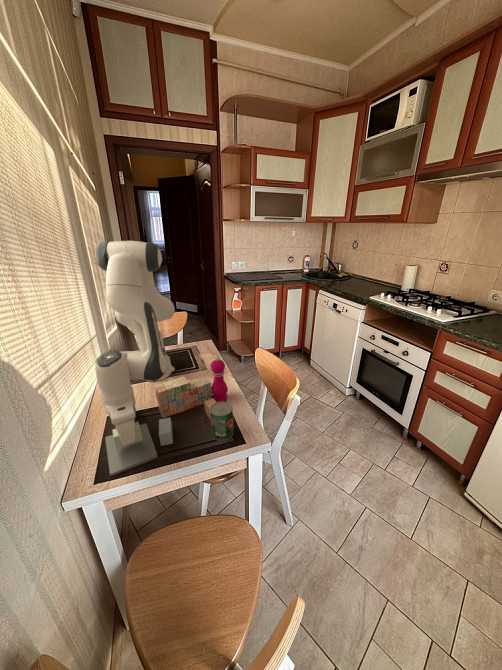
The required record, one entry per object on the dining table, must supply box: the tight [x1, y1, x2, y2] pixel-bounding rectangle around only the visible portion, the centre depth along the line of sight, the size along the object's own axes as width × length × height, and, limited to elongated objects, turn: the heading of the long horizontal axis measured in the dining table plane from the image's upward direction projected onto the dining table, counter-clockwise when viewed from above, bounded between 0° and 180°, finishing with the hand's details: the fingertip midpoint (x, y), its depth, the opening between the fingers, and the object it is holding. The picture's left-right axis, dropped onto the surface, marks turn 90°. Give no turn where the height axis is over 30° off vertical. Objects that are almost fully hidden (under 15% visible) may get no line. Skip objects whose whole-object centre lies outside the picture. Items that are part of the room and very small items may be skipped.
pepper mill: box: [210, 356, 229, 402], centre depth 115 cm, size 7×7×20 cm
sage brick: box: [112, 421, 143, 449], centre depth 90 cm, size 4×8×5 cm, turn 120°
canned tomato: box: [210, 401, 235, 442], centre depth 97 cm, size 8×8×11 cm
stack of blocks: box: [154, 376, 213, 419], centre depth 112 cm, size 21×6×12 cm, turn 121°
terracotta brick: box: [203, 398, 217, 420], centre depth 107 cm, size 4×8×5 cm, turn 30°
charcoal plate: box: [104, 423, 159, 477], centre depth 92 cm, size 18×14×1 cm
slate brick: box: [158, 417, 174, 447], centre depth 97 cm, size 4×8×5 cm, turn 17°
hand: (128, 436), depth 91 cm, fingers closed on sage brick, 4 cm apart
